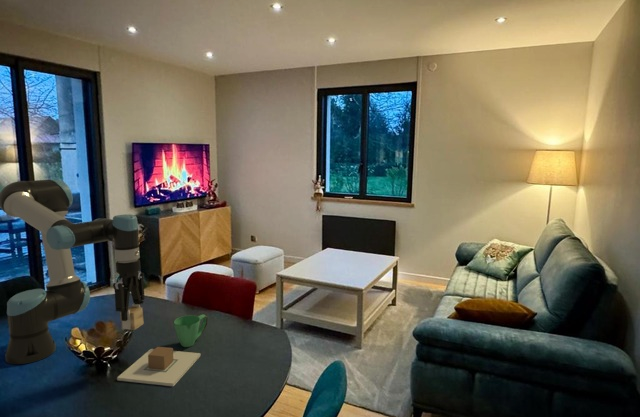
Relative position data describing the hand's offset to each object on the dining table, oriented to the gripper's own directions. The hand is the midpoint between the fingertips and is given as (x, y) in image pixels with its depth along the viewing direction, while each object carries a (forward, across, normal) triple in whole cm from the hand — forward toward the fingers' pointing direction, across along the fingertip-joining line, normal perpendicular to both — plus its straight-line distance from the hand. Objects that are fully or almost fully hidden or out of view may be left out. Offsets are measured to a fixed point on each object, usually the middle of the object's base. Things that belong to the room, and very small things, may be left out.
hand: (132, 325), depth 138 cm
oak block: (0, 0, 0) cm, 0 cm away
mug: (+16, +22, -10) cm, 29 cm away
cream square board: (+16, +2, -9) cm, 18 cm away
